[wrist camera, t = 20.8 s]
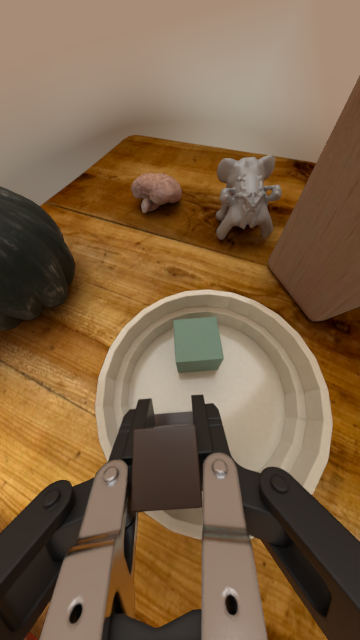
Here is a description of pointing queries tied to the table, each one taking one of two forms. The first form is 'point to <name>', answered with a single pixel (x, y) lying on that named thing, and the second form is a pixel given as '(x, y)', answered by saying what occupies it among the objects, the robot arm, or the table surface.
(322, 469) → the bowl
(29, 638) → the fruit slice
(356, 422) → the table surface
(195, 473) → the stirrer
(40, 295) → the squash
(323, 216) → the block
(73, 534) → the robot arm
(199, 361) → the cube
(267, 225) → the elephant statuette
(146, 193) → the pink brain model
